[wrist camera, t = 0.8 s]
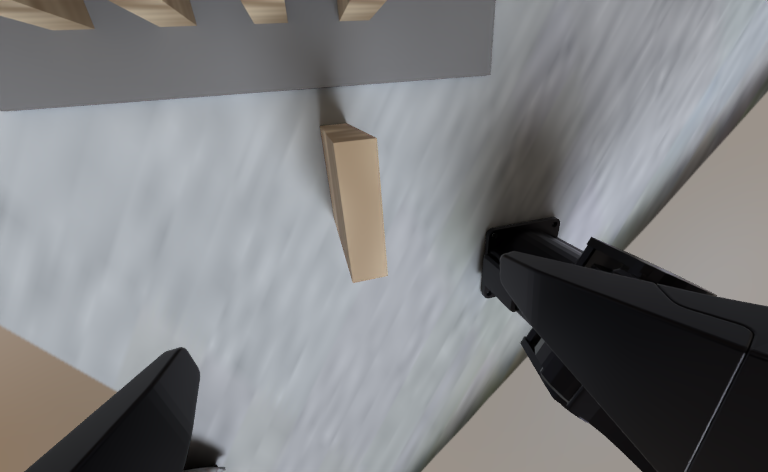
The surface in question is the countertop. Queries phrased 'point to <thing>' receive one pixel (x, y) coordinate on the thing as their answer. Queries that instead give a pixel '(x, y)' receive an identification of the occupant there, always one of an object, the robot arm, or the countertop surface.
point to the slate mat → (239, 52)
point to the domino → (356, 198)
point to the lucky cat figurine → (207, 469)
